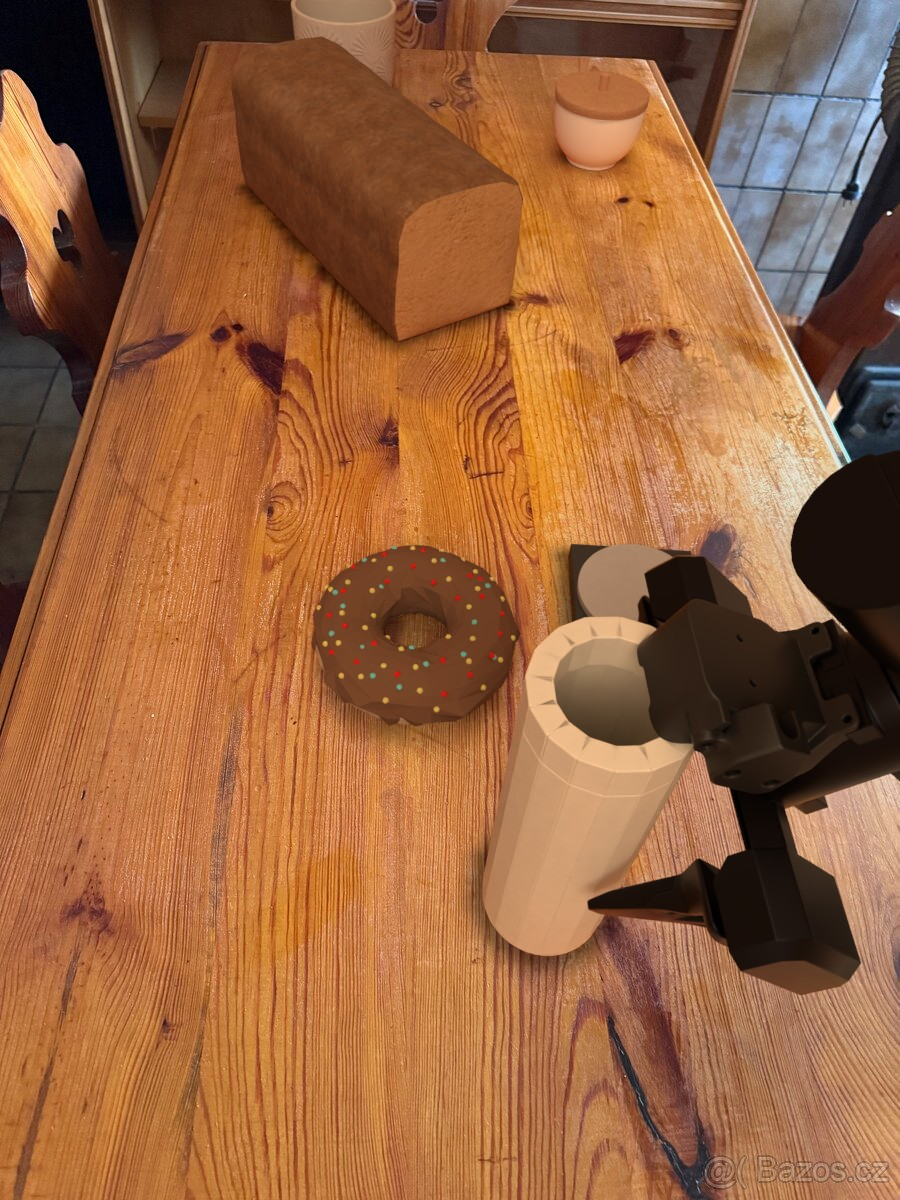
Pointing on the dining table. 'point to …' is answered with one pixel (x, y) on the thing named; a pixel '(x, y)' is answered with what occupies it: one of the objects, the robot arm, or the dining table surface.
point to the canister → (576, 785)
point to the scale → (611, 578)
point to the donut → (407, 674)
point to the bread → (375, 187)
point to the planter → (352, 29)
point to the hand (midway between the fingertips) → (579, 812)
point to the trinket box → (598, 117)
